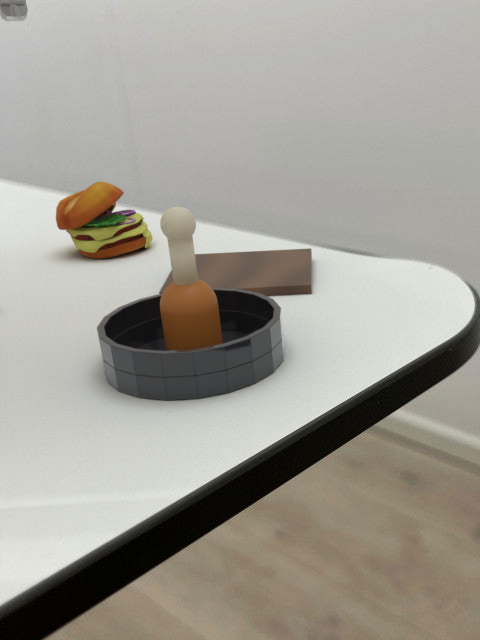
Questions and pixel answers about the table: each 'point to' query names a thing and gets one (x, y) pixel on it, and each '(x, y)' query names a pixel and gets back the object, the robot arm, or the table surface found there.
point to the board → (256, 271)
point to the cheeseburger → (101, 222)
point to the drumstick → (186, 290)
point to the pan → (194, 364)
